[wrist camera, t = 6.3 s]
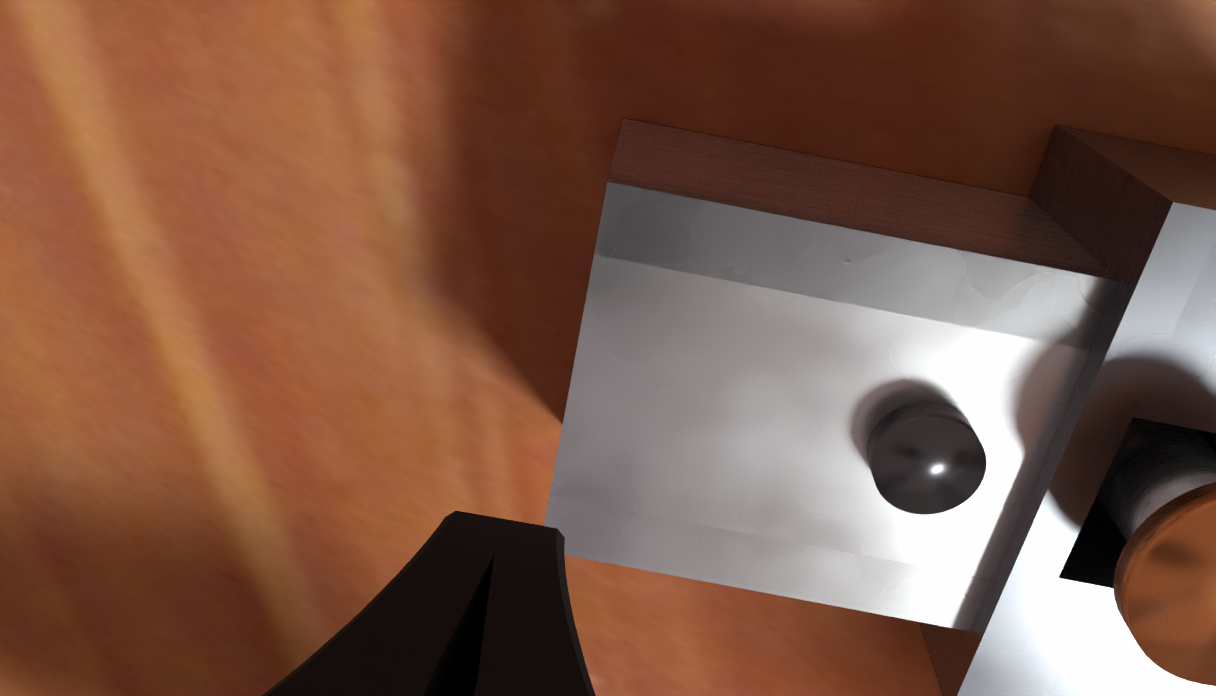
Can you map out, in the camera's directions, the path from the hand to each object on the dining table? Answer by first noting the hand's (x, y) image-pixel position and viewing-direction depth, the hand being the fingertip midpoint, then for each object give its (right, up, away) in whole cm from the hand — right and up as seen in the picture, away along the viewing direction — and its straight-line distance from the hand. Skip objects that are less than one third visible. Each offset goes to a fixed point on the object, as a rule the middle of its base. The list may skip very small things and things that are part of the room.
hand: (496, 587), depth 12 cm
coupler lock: (+5, +3, +9) cm, 11 cm away
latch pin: (+11, +1, +7) cm, 13 cm away
